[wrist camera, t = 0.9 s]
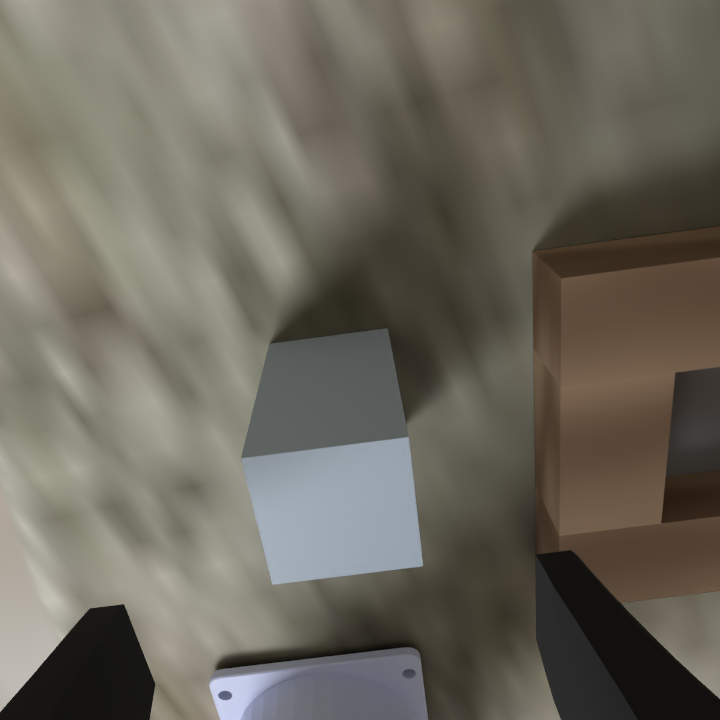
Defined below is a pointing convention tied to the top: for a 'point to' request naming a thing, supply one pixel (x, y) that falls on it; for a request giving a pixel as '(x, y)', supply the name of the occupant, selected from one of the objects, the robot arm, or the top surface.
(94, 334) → the top surface
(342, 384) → the peg
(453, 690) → the top surface
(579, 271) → the walnut socket block
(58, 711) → the robot arm
